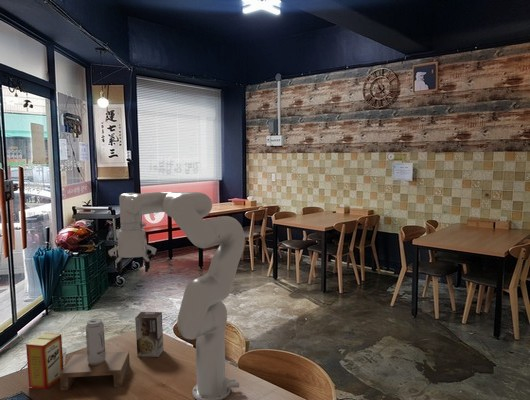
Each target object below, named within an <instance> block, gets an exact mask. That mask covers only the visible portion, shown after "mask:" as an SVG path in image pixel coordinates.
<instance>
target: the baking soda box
mask: <svg viewBox="0 0 530 400" xmlns="http://www.w3.org/2000/svg"><path fill="white" fill-rule="evenodd" d="M62 339H63V338H62V334H60V333H47V332H46V333H45V332H44V333H43V334H40V336H38V337H36V338H34V339H33V340H31V341H29V342H27V343H26V344H25V347H26V362H27V365H26V366H27V375H28V376H27V377H28V378H27V379H28V388H29V387H32V388H31V389H34V388H38V389H37V390H44V389H45V390H48V389H49V388H50V387H51V386H52V385H54V384H56V383H57V382H58V381H59V380H60V373H61V371H62V370H63V368H64V357H63V356H64V354H63V345H62V344H63V342H62V341H63V340H62Z"/></svg>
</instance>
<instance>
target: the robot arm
mask: <svg viewBox="0 0 530 400" xmlns="http://www.w3.org/2000/svg"><path fill="white" fill-rule="evenodd" d="M118 199H119V216H120V219H119V221H120V230H119V231H118V235H117V236H118V238H117V246H115V247H113V248H111V249H109V250H108V251H107V252H108V255H109V256H110V258H111V259H112V260H113V261H114V262H115V264H116V271H118V272H117V273H118V274H121V273H122V272H123V262H122V259H123V258H124V259H126V258H143V260H145V261H144V272H145V273H148V272H149V270H150V269H151V263H150V262H151V260H152V259H153V258H154V256H155V255H156V252H157V250H158V249H157V248H155V247H153V246H152V245H149V244H147V243H148V242H147V241H148V240H147V235H146V230H145V228H144V227H147V223H146V222H143V220H142V218H143V217H142V216H144V215H149V214H156V213H165V214H166V215H167V216H168V217H170V218H172V220H173V221H174V222H175V224H176V225H177V226H178V228H179V229H180V230H181V231H182V232H183V233H184V235H185V237H186V238H187V239H188V240H189V241H190V242H191V243H192V244H193V245H194V247H195V246H196V247H197V248H198V249H199V248H200V249H207V248H212V247H215V246H218V245H219V246H218V248H217V249H216V250H215V253H213V256H212V258H211V261H210V265H209V268H208V270H207V273H205V274H203V275H202V276H199V277H196V278H194V279H193V280H191V281H190V282H189V283H188V284H187V285H186V287H185V289H184V292H183V297H182V299H181V302H180V307H179V311H178V315H177V321H176V322H177V329H178V331H179V334H180V335H181V336H182V337H183V338H184V339H188V340H195V359H196V360H195V361H196V363H195V364H196V366H195V367H196V368H195V369H196V370H195V371H196V384H195V385H194V386H193V388H192V391H191V393H192V397H193V398H194V399H196V400H224V399H226V398H227V397H228V396H229V395H230V394H231V388H238V389H239V388H240V381H239V380H237V381H236V378H228V377H227V374H226V339H225V338H226V328H227V323H228V321H227V320H228V309H227V307H226V304H225V303H224V302H223V301H224V300H226V299H227V298H228V297H229V295H230V294H231V290H232V287H233V285H234V280H235V277H236V274H237V269H238V266H239V263H240V260H241V258H242V255H243V252H244V248H245V245H246V244H245V243H246V240H245V239H246V238H245V237H246V235H245V232H244V228H243V226H242V224H241V223H240V222H239V221H238V220H237V218H234V217H232V216H227V215H225V216H224V215H222V216H217V217H211V218H206V219H204V217H207V216H208V215H209V214H210V213H211V211H212V209H213V201H212V199H211V197H210V195H209V196H208V195H207V194H206V193H204V192H197V191H186V192H185V191H182V192H181V191H166V192H165V191H156V192H145V193H136V192H126V193H121V194H120V195H119V198H118ZM116 251H117V255H118V256H117V255H116V254H115V253H114V252H116ZM148 251H151V253H150V254H149V255H148Z"/></svg>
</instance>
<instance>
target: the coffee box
mask: <svg viewBox="0 0 530 400" xmlns="http://www.w3.org/2000/svg"><path fill="white" fill-rule="evenodd" d="M134 321H135V336H136V337H135V338H136V356H137V357H153V358H155V357H156V358H159V357H160V355H162V353H163V352H164V335H163V334H164V332H163V331H164V330H163V312H162V311H140V312H139V313H138V314H137V315H136V316H135V317H134Z"/></svg>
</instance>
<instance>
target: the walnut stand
mask: <svg viewBox="0 0 530 400" xmlns="http://www.w3.org/2000/svg"><path fill="white" fill-rule="evenodd" d="M105 356H106V358H105V360H104V362H103V363H101V364H99V365H90V364H89V362H88V361H87V353H76V354H73V355H72V356H71V358H69V360H68V361H67V363H66V364H65V366H63V370H62V371H61V373H60V379H59V380H60V391H67V390H68V391H69V389H70V388H71V386H72V385H73V383H74V382H75V380H76V378H80V377H95V376H96V377H99V376H100V377H101V376H113V386H114V388H119V387H123V383H124V381H125V379H126V377H127V374H128V371H129V369H130V368H131V366H130V365H131V364H130V363H131V362H130V351H115V352H113V351H111V352H105Z"/></svg>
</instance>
